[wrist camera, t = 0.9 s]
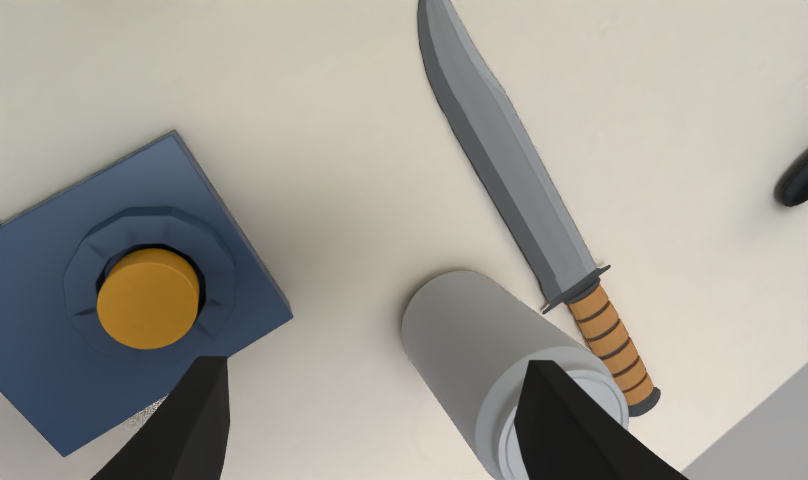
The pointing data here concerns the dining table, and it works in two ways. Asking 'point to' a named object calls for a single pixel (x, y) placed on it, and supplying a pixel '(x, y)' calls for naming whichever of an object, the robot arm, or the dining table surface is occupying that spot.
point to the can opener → (796, 187)
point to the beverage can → (492, 362)
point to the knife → (526, 195)
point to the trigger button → (149, 299)
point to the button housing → (86, 273)
